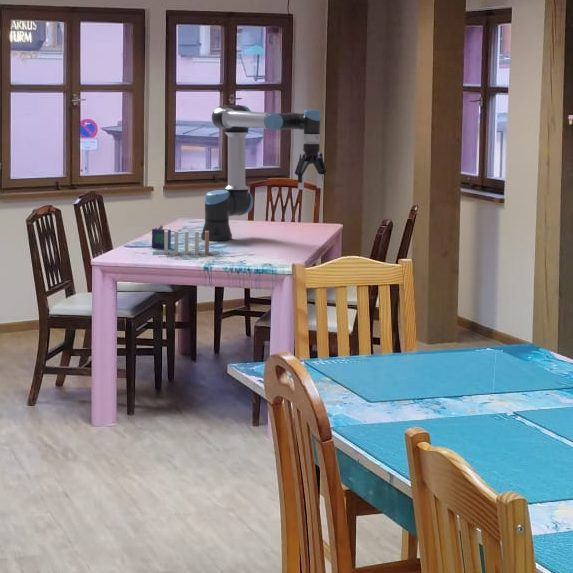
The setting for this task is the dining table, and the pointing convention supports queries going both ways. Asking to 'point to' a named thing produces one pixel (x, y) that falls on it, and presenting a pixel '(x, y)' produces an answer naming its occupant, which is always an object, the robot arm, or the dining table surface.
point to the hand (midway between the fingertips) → (310, 188)
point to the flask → (160, 238)
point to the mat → (188, 253)
